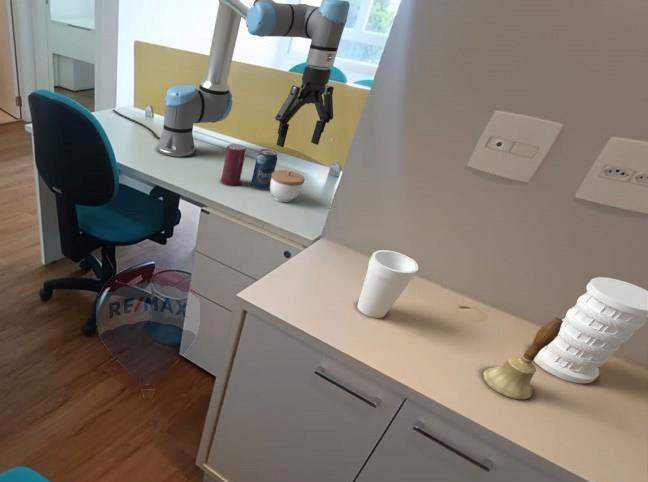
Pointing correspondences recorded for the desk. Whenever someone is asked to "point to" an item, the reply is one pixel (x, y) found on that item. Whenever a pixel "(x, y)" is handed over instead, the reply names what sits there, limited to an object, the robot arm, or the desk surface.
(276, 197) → the trinket box
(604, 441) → the desk surface
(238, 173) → the aluminium can
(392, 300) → the foam cup
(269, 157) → the soda can
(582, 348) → the decorative container
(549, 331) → the hand bell
